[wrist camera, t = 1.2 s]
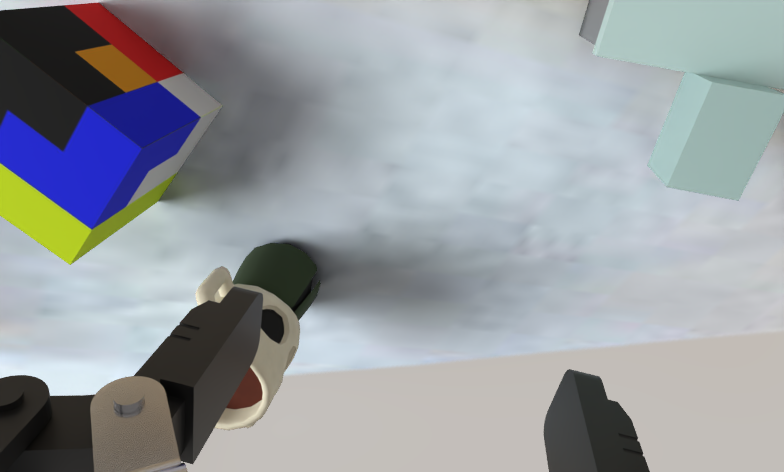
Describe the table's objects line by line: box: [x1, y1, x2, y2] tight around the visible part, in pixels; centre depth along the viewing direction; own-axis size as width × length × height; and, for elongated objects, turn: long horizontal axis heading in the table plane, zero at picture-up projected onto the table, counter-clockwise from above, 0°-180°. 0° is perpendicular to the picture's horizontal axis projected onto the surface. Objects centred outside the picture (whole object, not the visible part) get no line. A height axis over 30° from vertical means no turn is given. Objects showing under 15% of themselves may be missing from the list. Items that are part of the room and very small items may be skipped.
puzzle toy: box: [0, 3, 222, 265], centre depth 33 cm, size 10×10×10 cm
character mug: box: [195, 243, 321, 430], centre depth 36 cm, size 11×7×13 cm, turn 8°
